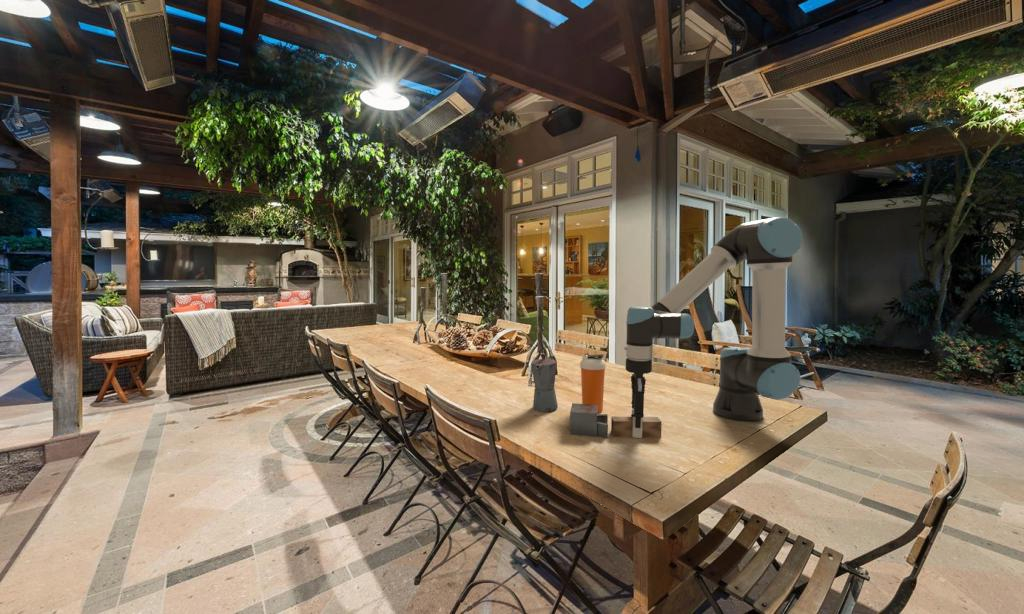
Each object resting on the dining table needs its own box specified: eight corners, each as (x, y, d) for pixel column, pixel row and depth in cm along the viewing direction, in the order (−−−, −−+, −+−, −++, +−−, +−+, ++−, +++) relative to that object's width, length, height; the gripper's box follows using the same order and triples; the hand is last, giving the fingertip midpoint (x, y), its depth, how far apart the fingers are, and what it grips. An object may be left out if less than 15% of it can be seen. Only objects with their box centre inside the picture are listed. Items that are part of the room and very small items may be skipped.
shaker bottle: (605, 414, 140) (606, 357, 139) (579, 413, 142) (579, 357, 140) (604, 406, 149) (605, 352, 147) (580, 405, 151) (580, 352, 149)
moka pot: (525, 412, 143) (525, 357, 141) (539, 400, 157) (539, 349, 156) (551, 416, 139) (551, 359, 138) (563, 402, 154) (563, 350, 152)
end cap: (607, 426, 130) (607, 404, 129) (607, 438, 121) (607, 415, 120) (572, 423, 133) (572, 402, 132) (569, 434, 123) (570, 412, 123)
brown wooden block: (657, 432, 125) (657, 417, 125) (661, 438, 121) (661, 421, 121) (611, 432, 126) (611, 416, 125) (613, 437, 122) (613, 421, 122)
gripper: (624, 352, 131) (622, 422, 133) (627, 364, 114) (625, 444, 116) (648, 353, 129) (646, 424, 131) (655, 365, 112) (652, 447, 114)
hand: (636, 433), depth 123 cm, fingers open, 5 cm apart
